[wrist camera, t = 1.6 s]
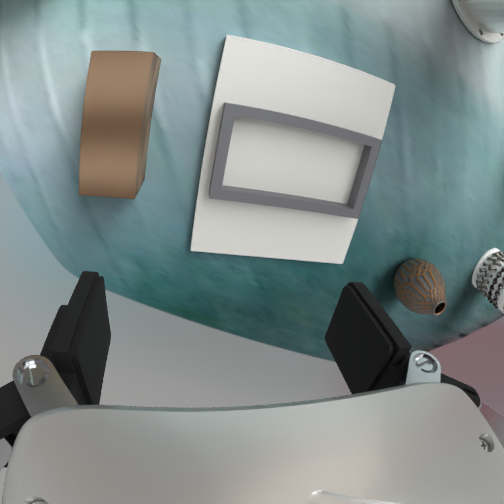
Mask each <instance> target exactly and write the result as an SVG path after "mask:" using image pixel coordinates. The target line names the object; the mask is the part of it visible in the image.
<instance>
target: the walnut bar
mask: <svg viewBox="0 0 504 504" xmlns="http://www.w3.org/2000/svg"><path fill="white" fill-rule="evenodd" d="M160 63H161V58H160V57H158V56H157V55H156V54H155V53H154V52H141V51H92V52H91V58H90V64H89V70H88V76H87V83H86V91H85V99H84V108H83V118H82V129H81V144H80V166H79V195H89V196H103V197H116V198H128V199H135V197H136V195H137V193H138V191H139V189H140V187H141V185H142V183H143V181H144V179H145V168H146V159H147V149H148V141H149V133H150V125H151V118H152V111H153V104H154V98H155V91H156V85H157V80H158V74H159V69H160Z"/></svg>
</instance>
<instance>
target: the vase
mask: <svg viewBox="0 0 504 504" xmlns="http://www.w3.org/2000/svg"><path fill="white" fill-rule="evenodd" d="M394 289H395V293H396V295H397V297H398V299H399V300H400V302H401V303H402V304H403V305H404V306H405V307H406V308H407V309H409V310H411V311H413V312H415V313H419V314H431V315H434V316H437V315H440V314H441V313H442V312H443V311H444V310H445V308H446V306H447V301H446V298H445V282H444V279H443V277H442V275H441V273H440V271H439V270H438V269H437V268H436V267H435V266H434V265H433V264H432V263H430V262H428V261H426V260H424V259H419V258H415V259H410V260H408V261H406V262H404V263H403V264H401V265H400V267H399V268H398V269H397V271H396V274H395V277H394Z"/></svg>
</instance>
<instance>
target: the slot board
mask: <svg viewBox="0 0 504 504" xmlns="http://www.w3.org/2000/svg"><path fill="white" fill-rule="evenodd" d="M394 90H395V84H392V83H390V82H388V81H385V80H383V79H380V78H378V77H375V76H373V75H370V74H368V73H365V72H363V71H360V70H357V69H355V68H352V67H349V66H346V65H343V64H340V63H338V62H335V61H331V60H328V59H325V58H322V57H319V56H316V55H312V54H309V53H305V52H302V51H298V50H294V49H291V48H287V47H283V46H279V45H275V44H270V43H266V42H261V41H257V40H252V39H247V38H242V37H236V36H230V35H227V36H226V40H225V44H224V49H223V53H222V58H221V63H220V67H219V72H218V77H217V82H216V87H215V92H214V98H213V103H212V108H211V114H210V119H209V125H208V131H207V136H206V142H205V148H204V154H203V161H202V167H201V174H200V180H199V187H198V194H197V201H196V208H195V216H194V223H193V231H192V239H191V251H199V252H210V253H222V254H233V255H244V256H256V257H267V258H279V259H290V260H302V261H314V262H325V263H337V264H343V261H344V258H345V256H346V253H347V250H348V247H349V244H350V241H351V239H352V236H353V233H354V230H355V227H356V224H357V221H358V218H359V215H360V212H361V209H362V206H363V203H364V200H365V196H366V193H367V190H368V187H369V184H370V180H371V177H372V174H373V170H374V167H375V163H376V160H377V156H378V153H379V149H380V146H381V142H382V138H383V134H384V131H385V127H386V123H387V119H388V115H389V111H390V107H391V103H392V99H393V94H394Z"/></svg>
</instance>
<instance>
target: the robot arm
mask: <svg viewBox="0 0 504 504" xmlns="http://www.w3.org/2000/svg"><path fill="white" fill-rule="evenodd" d="M452 3H453V5H454V8H455V10H456V12H457V14H458V15H459V17H460V19H461V21H462V22H463V23H464V25H465V26H466V27H467V29H468V30H469V31H470V32H471V33H472V34H473V35H474V36H476V37H477V38H478V39H480V40H482V41H484V42H487V43H498V42H500V41H501V40H502V39H503V38H504V0H452ZM110 339H111V332H110V325H109V318H108V311H107V303H106V295H105V285H104V278H103V276H99V274H98V272H89V271H83V272H82V274H81V276H80V279H79V281H78V283H77V285H76V287H75V290H74V292H73V294H72V296H71V299H70V301H69V304H68V305H61V306H60V308H59V310H58V312H57V315H56V317H55V319H54V321H53V324H52V326H51V329H50V331H49V333H48V336H47V338H46V341H45V343H44V346H43V349H42V351H41V354H40V355H30V356H27V357H25V358H23V359H21V360H20V361H19V362H18V363H17V364H16V365H15V367H14V370H13V379H14V381H12V382H10V383H8V384H6V385H4V386H2V387H1V388H0V471H1V469H2V468H3V467H7V471H6V477H5V483H4V490H3V497H2V504H47V503H48V504H504V417H503V416H501V415H500V414H499V413H498V412H496V411H495V410H493V409H492V408H491V407H489V406H488V405H487V404H485V403H484V402H483V403H482V404H480V398H479V395H478V393H477V392H476V390H475V389H474V388H472V387H470V386H468V385H466V384H464V383H462V382H459V381H457V380H455V379H453V378H450V377H448V376H446V375H444V374H441V366H440V363H439V361H438V360H437V359H436V358H435V357H434V356H433V355H431V354H430V353H428V352H425V351H419V350H418V351H414V352H413V353H412V354H410V352H409V350H410V348H411V347H412V346H411V345H410V344H409V342H408V341H407V339H406V338H405V337H404V335H403V334H402V333H401V331H400V330H399V329H398V327H397V326H396V325H395V323H394V322H393V321H392V319H391V318H390V317H389V316H388V314H387V313H386V312H385V310H384V309H383V308H382V306H381V305H380V304H379V303H378V301H377V300H376V299H375V297H374V296H373V295H372V294H371V292H370V291H369V290H368V289H367V287H366V286H365V285H364V284H363V283H361V282H350V283H348V284H347V286H345V287H344V288H343V290H342V293H341V296H340V298H339V301H338V304H337V307H336V309H335V312H334V314H333V317H332V320H331V322H330V325H329V327H328V330H327V332H326V336H325V340H326V343H327V345H328V347H329V349H330V351H331V353H332V355H333V357H334V359H335V361H336V363H337V365H338V367H339V369H340V371H341V373H342V375H343V377H344V379H345V381H346V383H347V385H348V387H349V389H350V391H351V393H352V395H345V396H339V397H332V398H325V399H318V400H310V401H301V402H292V403H282V404H271V405H257V406H239V407H218V408H217V407H212V408H172V407H171V408H170V407H169V408H168V407H138V406H137V407H136V406H119V405H99V401H100V396H101V389H102V383H103V377H104V371H105V366H106V360H107V355H108V350H109V345H110Z"/></svg>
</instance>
